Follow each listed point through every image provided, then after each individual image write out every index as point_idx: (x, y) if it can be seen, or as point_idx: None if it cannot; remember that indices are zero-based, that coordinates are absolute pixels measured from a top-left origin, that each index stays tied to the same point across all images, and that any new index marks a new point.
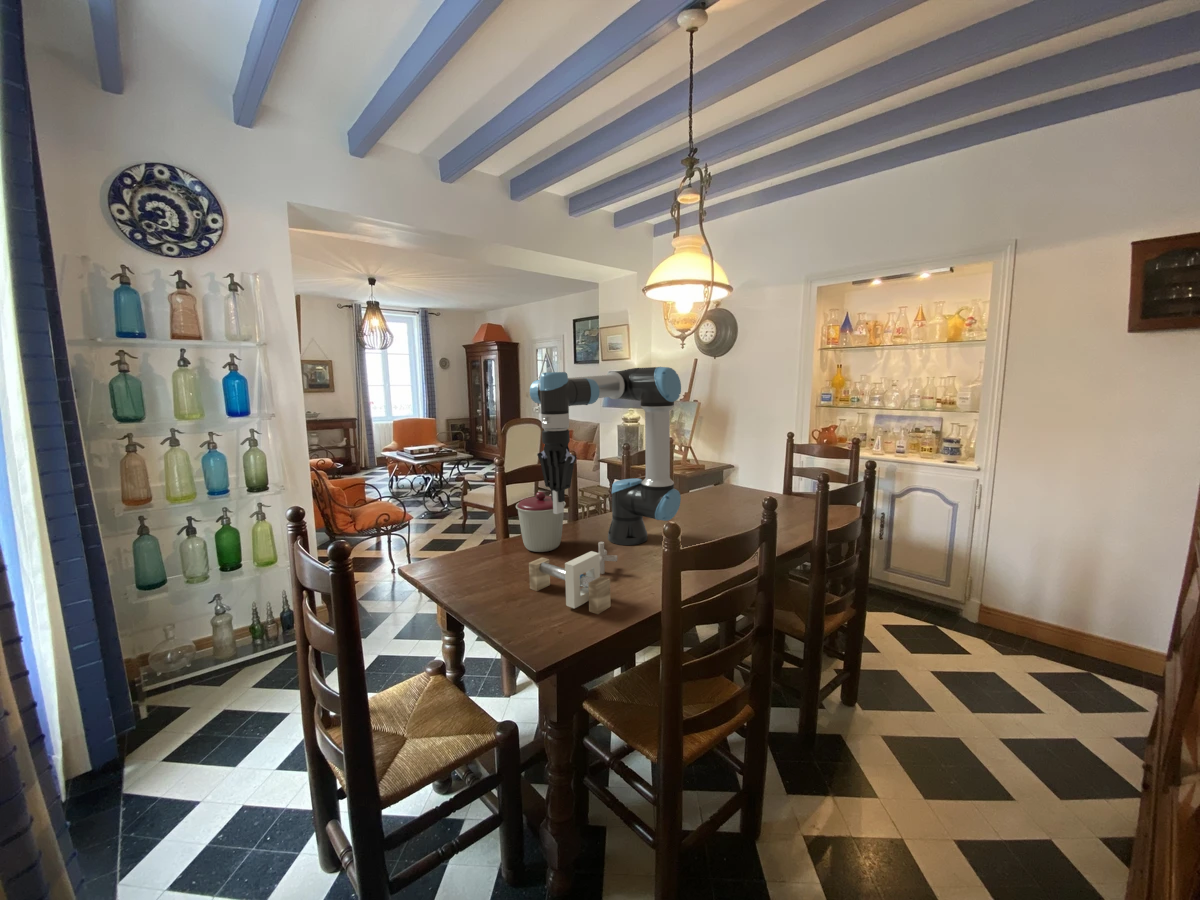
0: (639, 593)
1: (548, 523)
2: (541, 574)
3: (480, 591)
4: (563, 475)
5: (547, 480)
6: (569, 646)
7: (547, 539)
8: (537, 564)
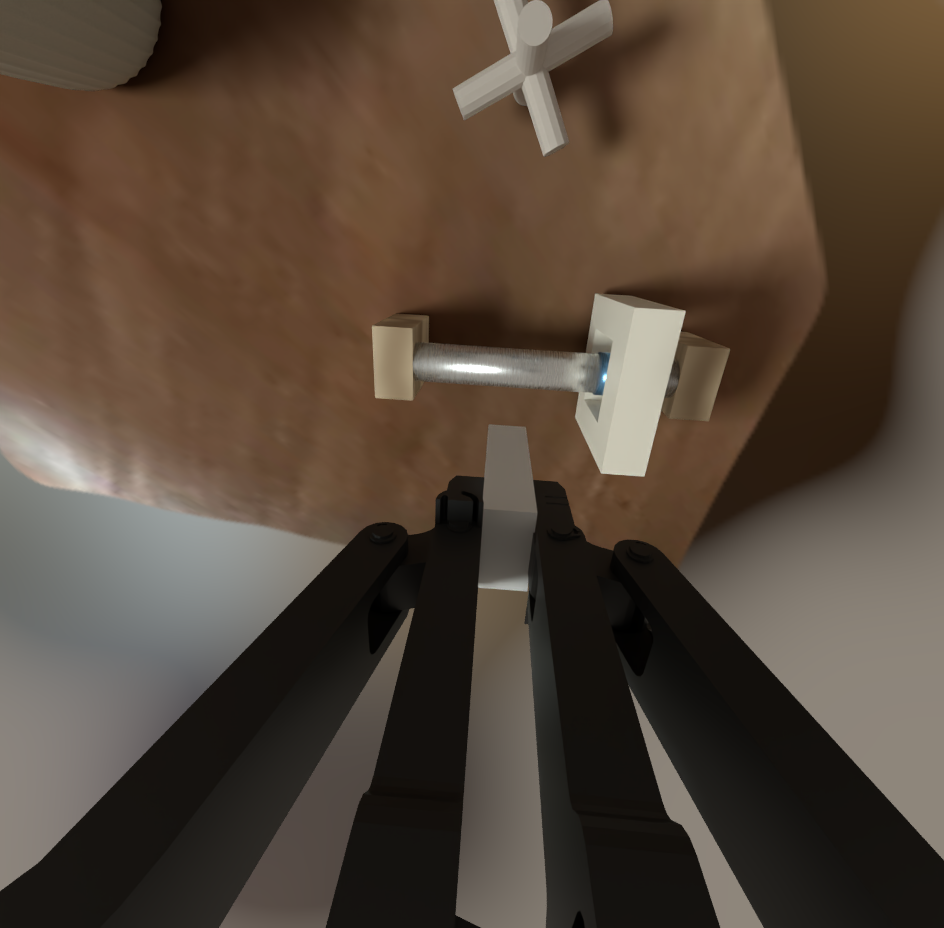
0: (749, 182)
1: None
2: None
3: (302, 459)
4: (686, 770)
5: (386, 646)
6: (674, 533)
7: (124, 10)
8: (411, 391)
